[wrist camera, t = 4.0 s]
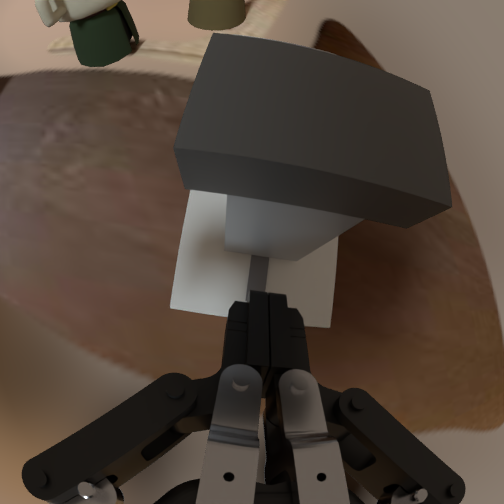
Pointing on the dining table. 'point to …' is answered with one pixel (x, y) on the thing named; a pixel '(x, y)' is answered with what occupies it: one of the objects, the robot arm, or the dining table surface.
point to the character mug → (93, 27)
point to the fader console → (245, 268)
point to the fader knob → (307, 145)
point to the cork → (216, 14)
